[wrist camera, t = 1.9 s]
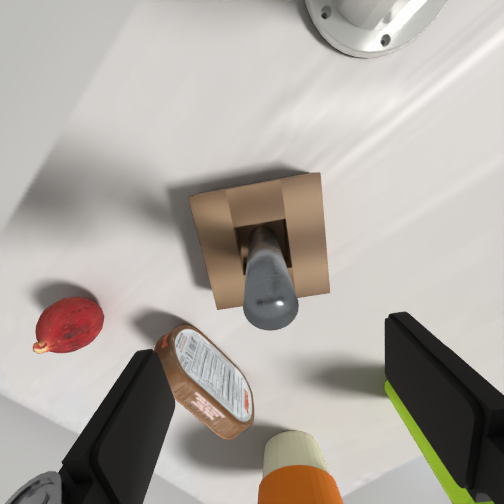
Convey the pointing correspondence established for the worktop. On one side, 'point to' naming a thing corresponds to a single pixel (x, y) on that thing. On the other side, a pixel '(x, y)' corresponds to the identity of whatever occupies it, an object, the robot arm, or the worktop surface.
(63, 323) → the onion
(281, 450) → the reusable coffee cup
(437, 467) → the soap dispenser
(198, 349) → the tin
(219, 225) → the rod stand
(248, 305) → the metal rod
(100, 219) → the worktop surface
